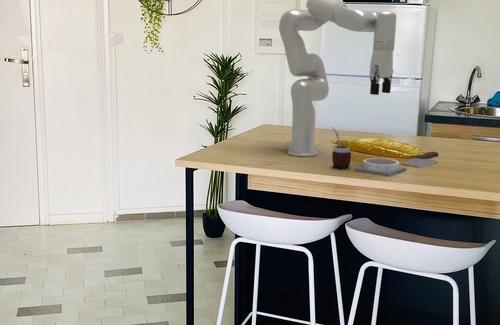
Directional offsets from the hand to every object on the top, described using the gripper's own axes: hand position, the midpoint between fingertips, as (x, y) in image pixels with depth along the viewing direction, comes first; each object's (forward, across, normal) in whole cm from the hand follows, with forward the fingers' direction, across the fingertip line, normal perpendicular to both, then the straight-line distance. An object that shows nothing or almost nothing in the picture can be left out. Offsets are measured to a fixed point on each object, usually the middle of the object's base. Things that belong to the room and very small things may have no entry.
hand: (380, 93), depth 222 cm
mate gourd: (+29, +7, -11) cm, 32 cm away
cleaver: (+29, -27, +9) cm, 41 cm away
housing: (+28, +2, +3) cm, 29 cm away
